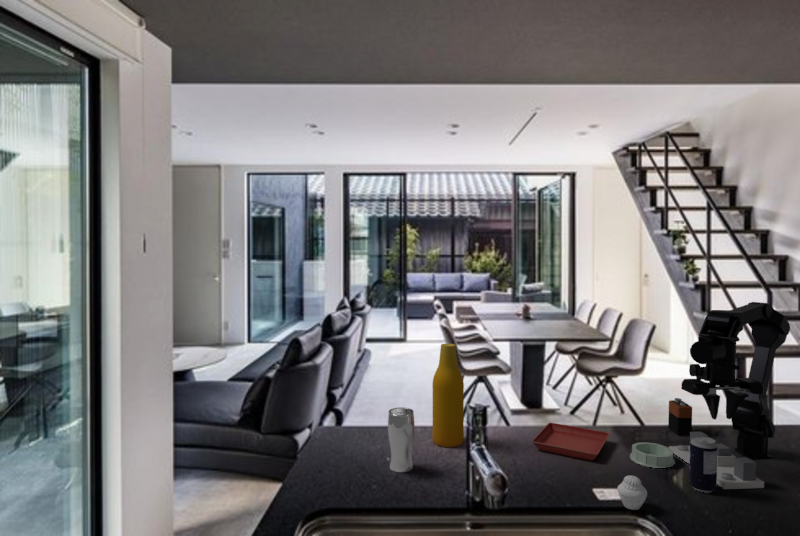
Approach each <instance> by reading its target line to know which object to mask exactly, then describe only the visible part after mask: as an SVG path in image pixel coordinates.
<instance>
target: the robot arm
mask: <svg viewBox="0 0 800 536" xmlns="http://www.w3.org/2000/svg"><path fill="white" fill-rule="evenodd" d="M747 324H748V325H749V327H750V329H751V332H750V333H751V336H752V339H753V341H754V343H755V346H754V347H755V348H754V350H753V351H754V352H753V356H752V361H751V364H750V368H749V374H748V377H736V371H737V370H738V371H739V370H740V365H739V364H736V363H737V362H736V361H737V342H740V338H739V336H738V335H739V333H741V332H742V331H743V330H744V326H745V325H747ZM790 331H791V325H790V322H789V321H788V320H787V318H786V316H785V315H784V314H782V313H781V312H779V311H777V310H776V309H775V308H773V306H772V305H771V304H770V303H768V302H760V301H759V302H758V301H751V302H749V303H747V304H745V305H742V306H738V307H736V308H735V307H734V308H733V309H730V310H727V309H724V310H723V309H722V310H721V309H711V310H710V311H709V312H708V313H707V315H706V316H705V318H704V321H703V323H702V326H701V328H700V331H699V332H698V337H697V338H698V339H697V341H695V342H694V343H693V344H692V345H691V346H690V348H689V353H690V357H691V359H693V361H694V362H695V363H691V364H689V371H688V372H689V375H690V376H691V377H695V378H684V379H683V380H682V382H681V390H683V391H686V392H687V393H689V394H692V395H695V396H702V397H703V399H704V401H705V403H706V405H707V408H708V411H709V415H710V417H711V419H712V420H717V418H718V413H719V407H720V402H721V395H719V394H717V391H723V392H724V394H725V397H726V398H725V399H726V400H725V414H726V415H725V417H726V419H727V420H731V425H732V429H733V430H734V431H735V430H736V431H738V435H737V439H736V447H734V448H733V451H735V452H738V453H739V454H741V455H743V456H744V457H747V458H749V459H751V460H753V459H772V458H773V457H772V456H773V455H771V454H769V453H768V452H769V451H768V449H769V448H768V447H769V446H768V445H769V438H770V439H773V438H774V435H775V433H776V426H775V425H774V423H773V421H772V420H771V418H770V415H771V414H770V413H771V410H770V408H769V405H768V403H767V401H766V397H767V393H768V389H769V385H770V384H769V383H770V379H771V375H772V374H771V373H772V369H773V367H774V366H773V365H774V360H775V356H776V352H777V350H778V349H779V348H780V347H781V346H783V344H785V342H786V341H787V336H788V335H789V334H790ZM701 365H705V366H701ZM703 380H704V381H703Z"/></svg>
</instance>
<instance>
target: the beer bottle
mask: <svg viewBox="0 0 800 536" xmlns="http://www.w3.org/2000/svg"><path fill="white" fill-rule="evenodd" d="M439 350H440V351H439V362H438V366H437V368H436V371H435V372H434V375H433V378H432V434H431V435H432V436H431V437H432V441H433V442H432V443H434V444H435V445H436V446H438V447H442V448H457V447H459V446H461V445H462V444H463V442H464V438H465V436H464V434H465V432H464V431H465V430H464V414H465V413H464V412H465V411H464V410H465V409H464V404H465V403H464V397H465V396H464V393H465V391H464V390H465V389H464V386H465V383H464V382H465V381H464V379H463V378H464V377H463V375H462V372H461V370H460V368H459V366H458V359H457V358H458V357H457V349H456V344H454V343H441V345H440V349H439Z"/></svg>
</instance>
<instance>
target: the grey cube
mask: <svg viewBox="0 0 800 536" xmlns="http://www.w3.org/2000/svg"><path fill="white" fill-rule="evenodd" d="M716 445H717V447H718V448H717V456H731V454H732V453H731V451H732V450H731V447H729V446H727V445H725V444H723V443H716Z"/></svg>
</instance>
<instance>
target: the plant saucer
mask: <svg viewBox="0 0 800 536" xmlns="http://www.w3.org/2000/svg"><path fill="white" fill-rule="evenodd" d="M609 436H610V433H609V432H606V431H599V430H594V429H588V428H583V427H578V426H571V425H565V424H561V423H555V422H549V423H547V424H546V425H545V426H544V427H543V428H542V429H541V431H540V432H539V433H538V434H537V435H535V437H533V438H532V440H531V441H532V443H533V445H534V446H535V447H536V448H537V449H538V450H539V451H542V452H547V453H551V454H557V455H562V456H566V457H571V458H576V459H580V460H587V461H594V460H595V459H596V457H597V456H598V455H599V454H600V452H601V450H602V448H603V447H604V445H605V443H606V441H607V440H608V438H609Z"/></svg>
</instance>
